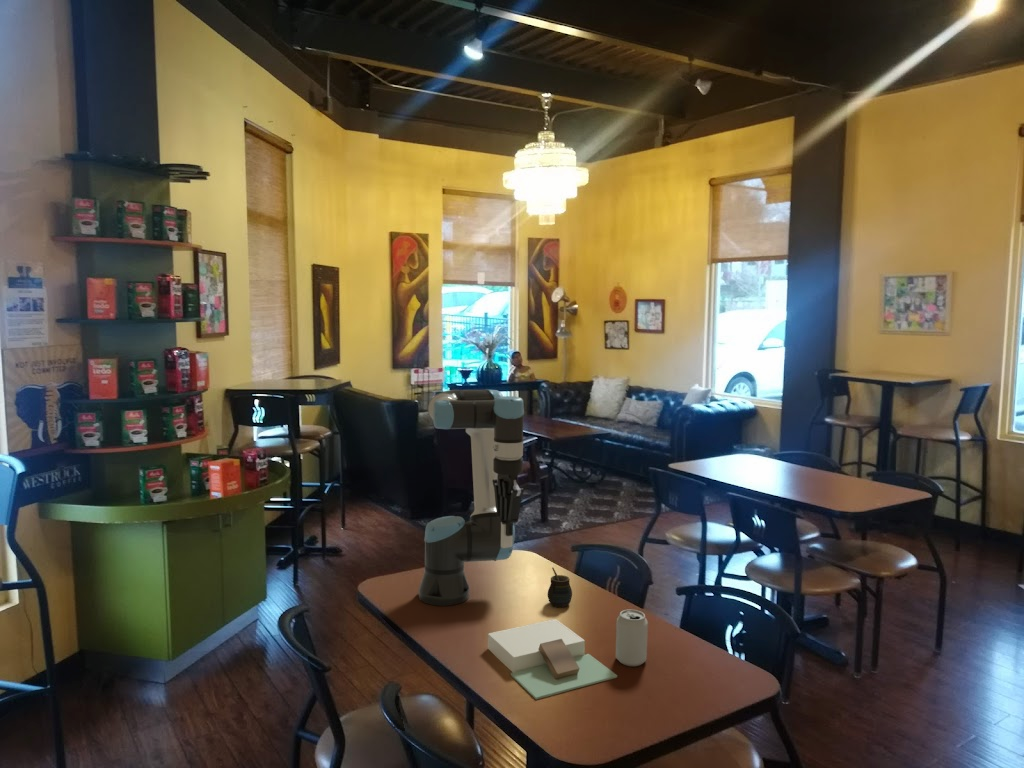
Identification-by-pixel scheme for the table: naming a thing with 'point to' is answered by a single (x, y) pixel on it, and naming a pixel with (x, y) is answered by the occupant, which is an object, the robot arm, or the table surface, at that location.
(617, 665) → the table surface
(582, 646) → the white flat block
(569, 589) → the mate gourd
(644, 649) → the can
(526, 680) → the mat
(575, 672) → the brown wooden slab
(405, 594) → the table surface
